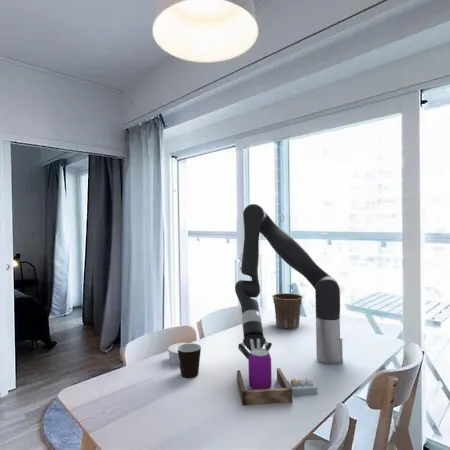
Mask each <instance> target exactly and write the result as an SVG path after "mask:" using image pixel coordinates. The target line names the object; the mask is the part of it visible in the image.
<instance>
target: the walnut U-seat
mask: <svg viewBox="0 0 450 450" xmlns="http://www.w3.org/2000/svg"><path fill="white" fill-rule="evenodd" d="M276 381H277V383H278V385H279V386H280V388H278V387H277V388H269V389H260V390H253V389H246V386H245V383H244V380H243V376H242V371H241V370H240V369H238V370H236V382H237V387H238V392H239V396H240V400H241V404H242V406H261V405H262V406H263V405H275V404H276V405H277V404H290V403H291V404H292V403H293V395H292V389H291V387H290V385H289V383H288V382H287V378H286V376H285V374H284V373H283V371H282V369H281V368H280V367H277V368H276Z"/></svg>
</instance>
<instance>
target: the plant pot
mask: <svg viewBox="0 0 450 450" xmlns="http://www.w3.org/2000/svg"><path fill="white" fill-rule="evenodd" d="M271 297H272V299H273V304H274V312H275V325H276V326H277V328H281V329H289V330H294V329H297V327H298V328H299V326H300V321H301V319H300V318H301V317H300V316H301V307H302V302H303V301H302V300H303V298H304V297H303V295H300V294H297V293H286V292H285V293H275V294H272V296H271ZM293 328H294V329H293Z"/></svg>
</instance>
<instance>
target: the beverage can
mask: <svg viewBox="0 0 450 450" xmlns="http://www.w3.org/2000/svg"><path fill="white" fill-rule="evenodd" d="M249 353H250V355H249V358H248V359H247V362H248V385H249V388H251V390H260V389H271V387H272V379H273V378H272V377H273V376H272V357H271V355H270V350H269V351H268V350H266V349H265V348H263V347H262V348H256V349H252V350H251V352H250V351H249Z"/></svg>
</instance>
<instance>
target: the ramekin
mask: <svg viewBox="0 0 450 450" xmlns="http://www.w3.org/2000/svg"><path fill="white" fill-rule="evenodd" d="M187 343H188V342H179V343H174V344H171V345H169V346H168V347H167V353H168V356H169V361H170V362H171V363H172V364H173V365H179V366H180V364H179V356H178V347H179V346H180V345H182V344H187Z"/></svg>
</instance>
